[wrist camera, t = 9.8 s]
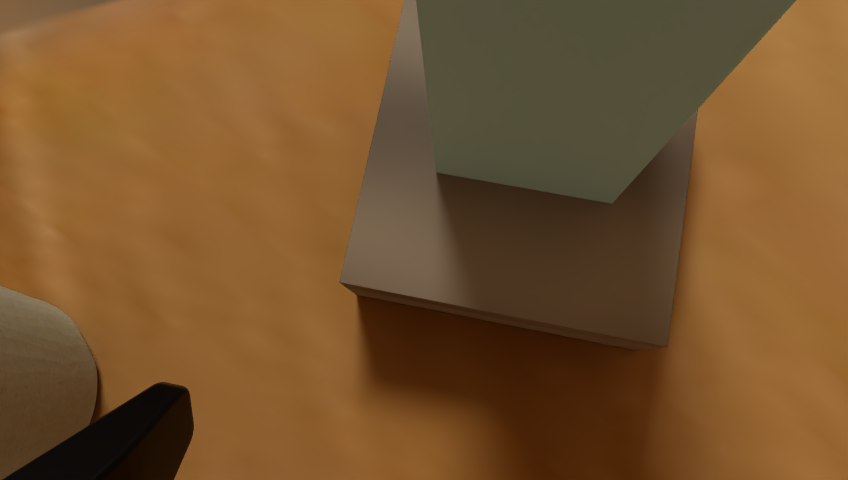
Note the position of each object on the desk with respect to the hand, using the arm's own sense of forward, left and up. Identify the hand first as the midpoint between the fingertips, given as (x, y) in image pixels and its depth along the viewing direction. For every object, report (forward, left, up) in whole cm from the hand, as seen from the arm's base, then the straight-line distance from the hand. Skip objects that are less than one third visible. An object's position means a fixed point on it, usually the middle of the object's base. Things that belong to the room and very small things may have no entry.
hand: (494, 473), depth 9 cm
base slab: (+7, -1, -11) cm, 13 cm away
